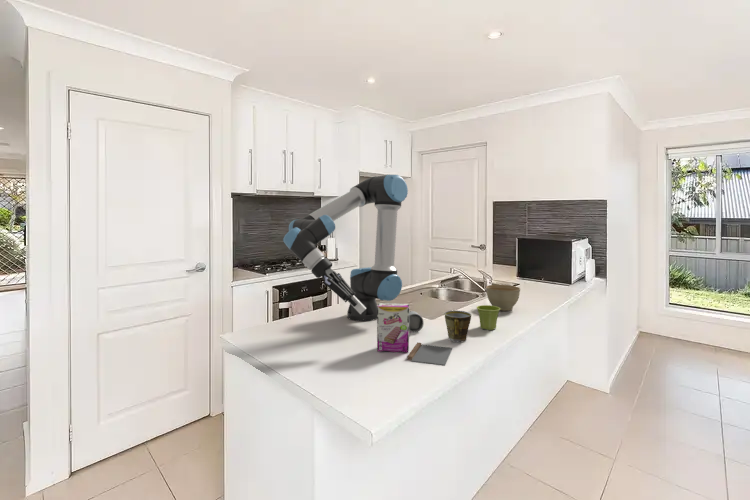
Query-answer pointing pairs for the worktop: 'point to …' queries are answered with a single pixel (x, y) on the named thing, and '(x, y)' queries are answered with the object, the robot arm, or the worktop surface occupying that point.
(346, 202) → the robot arm
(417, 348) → the strip
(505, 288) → the planter bowl
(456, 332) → the ceramic cup
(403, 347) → the candy bar box
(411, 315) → the ceramic mug
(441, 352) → the mat
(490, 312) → the plant pot
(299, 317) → the worktop surface
